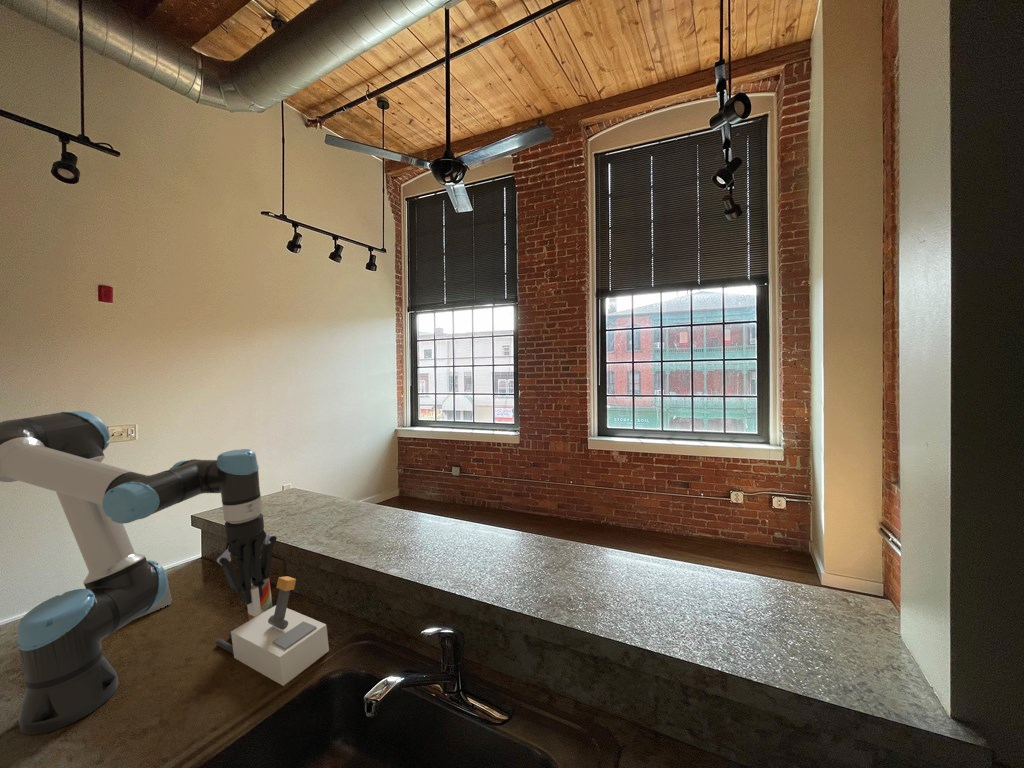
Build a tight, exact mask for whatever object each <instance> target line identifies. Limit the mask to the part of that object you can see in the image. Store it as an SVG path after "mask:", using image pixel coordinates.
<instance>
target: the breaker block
mask: <svg viewBox="0 0 1024 768" xmlns="http://www.w3.org/2000/svg"><path fill="white" fill-rule="evenodd" d="M275 608H276V604H275V605H274V606H272V608H270V609H269V610H267V611H265V612H263V613H262V614H260V615H258V616H257V617H255V618H253V619H251V620H250V621H249V620H248V621H247V622H245V623H242V624H241V625H240V626H238V627H236V628H235V629H233V630H231V631H230V632H231V636H232V639H231V642H232V643H231V645H233V652H234V654H233V658H234V659H236V660H237V661H239V662H241V663H243V664H244V665H246V666H248V667H249V668H251V669H253V670H254V671H256V672H258V673H260V674H261V675H263V676H265V677H267V678H269V679H270V680H272V681H274V682H276V683H277V684H278V685H281V686H282V687H284V686H286V684H288V683H289V682H290V681H292V680H294V678H296V677H297V676H299V674H301V673H303V672H304V671H305V670H306V669H308V668H309V667H310V666H311V665H312V664H314V663H315V662H316V661H318V660H320V658H322V657H323V656H324V655H326V654H327V653H328V652H329V651H330V647H329V639H328V638H329V637H328V636H329V635H328V627H327V624H326V623H324V622H321V621H319V620H316V619H314V618H312V617H309V616H308V615H304V614H302V613H300V612H297V611H296V610H293V609H290V608H288V607H287V609H286V613H285V618H284V620H286V621H288V626H287V627H286V628H285V629H284V630H281V629H279V628H277V627H275V626H273V625H271V624H269V623H268V620H269V618H270V617H271V616H272V615H274V613H275Z"/></svg>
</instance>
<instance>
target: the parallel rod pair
mask: <svg viewBox="0 0 1024 768" xmlns="http://www.w3.org/2000/svg"><path fill="white" fill-rule="evenodd" d="M227 637H228V638H230V639H231V640H232V636H231V631H230V632H229V633H228V636H227ZM215 644H216V645H217V646H218V647H220V648H222V649H223V650H225V651H227V652H228V653H231V654H232V655H234V652H233V644H232V643H229V642H227V641H225V640H224V639H222V638H218V639H217V640H216V642H215Z"/></svg>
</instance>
